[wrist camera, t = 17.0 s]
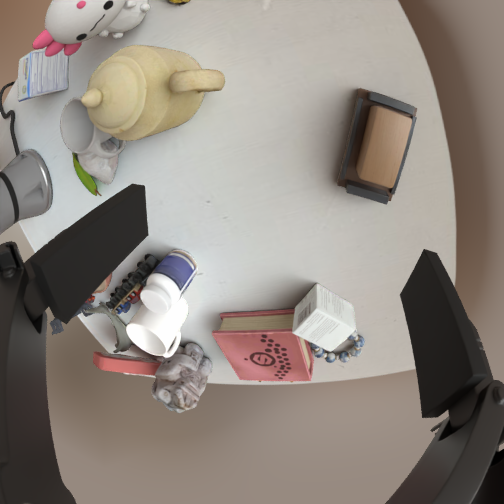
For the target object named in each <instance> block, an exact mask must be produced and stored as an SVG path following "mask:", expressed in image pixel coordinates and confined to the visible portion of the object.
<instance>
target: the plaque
mask: <svg viewBox="0 0 504 504" xmlns="http://www.w3.org/2000/svg"><path fill="white" fill-rule="evenodd" d="M93 363H94V364H95V365H96V366H97V367H98V368H99V369H102V370H106V371H114V372H122V373H124V374H132V375H141V376H144V375H155V373H156V371H157V369H158V368H159V366H160V364H161V363H162V362H161V361H158V360H155V359H150V358H142V357H132V356H127V355H121V354H111V353H110V354H109V353H103V352H94V357H93Z"/></svg>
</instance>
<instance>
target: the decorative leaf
mask: <svg viewBox="0 0 504 504" xmlns="http://www.w3.org/2000/svg"><path fill="white" fill-rule="evenodd" d="M72 154H73V163H74V167H75V170H76V173H77V175H78V177H79V178H80V180H81V182H82V183H83V184H84V186H85V187H86V188H87V189H88V190H89V191H90V192H91V193H92V194H93V195H95V196H97V193H98V191H97V190H96V189H97V187H96V185H95V183H94V181H93V179H92V178H91V176H90V175H89V174H88V173H87V172H86V171H85V170H84V169H83V168H82V167H81V165H80V164H79V162H78V161H77V159H76V157H75V155H74V153H72ZM96 192H97V193H96ZM98 194H99V193H98ZM99 195H100V194H99ZM100 196H101V195H100Z"/></svg>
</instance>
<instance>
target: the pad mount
mask: <svg viewBox="0 0 504 504" xmlns="http://www.w3.org/2000/svg"><path fill="white" fill-rule="evenodd" d="M373 105H375V106H380V107H383V108H386V109H389V110H392V111H395V112H397V113H400V114H403V115H405V116H408V117H410V118H411V119H412V124H411V128H410V132H409V136H408V140H407V144H406V147H405V151H404V154H403V158H402V161H401V165H400V168H399V171H398V174H397V177H396V181H395V184H394V186H393V188H387V187H384V186H381V185H378V184H375V183H372V182H369V181H365V180H362V179H360V178H359V175H358V173H357V171H356V164H357V160H358V157H359V153H360V149H361V145H362V141H363V137H364V133H365V128H366V124H367V120H368V115H369V111H370V107H371V106H373ZM416 112H417V108H415V107H414V106H411V105H409V104H406V103H404V102H401V101H398V100H396V99H393V98H390V97H387V96H384V95H382V94H379V93H376V92H372V91H368V90H364V89H361V88H359V89H358V94H357V99H356V104H355V109H354V113H353V118H352V123H351V127H350V131H349V136H348V140H347V144H346V148H345V153H344V157H343V161H342V165H341V169H340V172H339V176H338V180H337V185H338V186H341V187H345V188H346V192H347V193H350V194H354V195H357V196H360V197H364V198H367V199H371V200H374V201H377V202H380V203H383V204H387V202H388V201H391V198H392V196H393V195H394V194H395V191H396V188H397V185H398V182H399V179H400V176H401V172H402V169H403V166H404V163H405V159H406V156H407V152H408V149H409V145H410V142H411V138H412V134H413V130H414V126H415V122H416V117H415V116H416Z"/></svg>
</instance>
